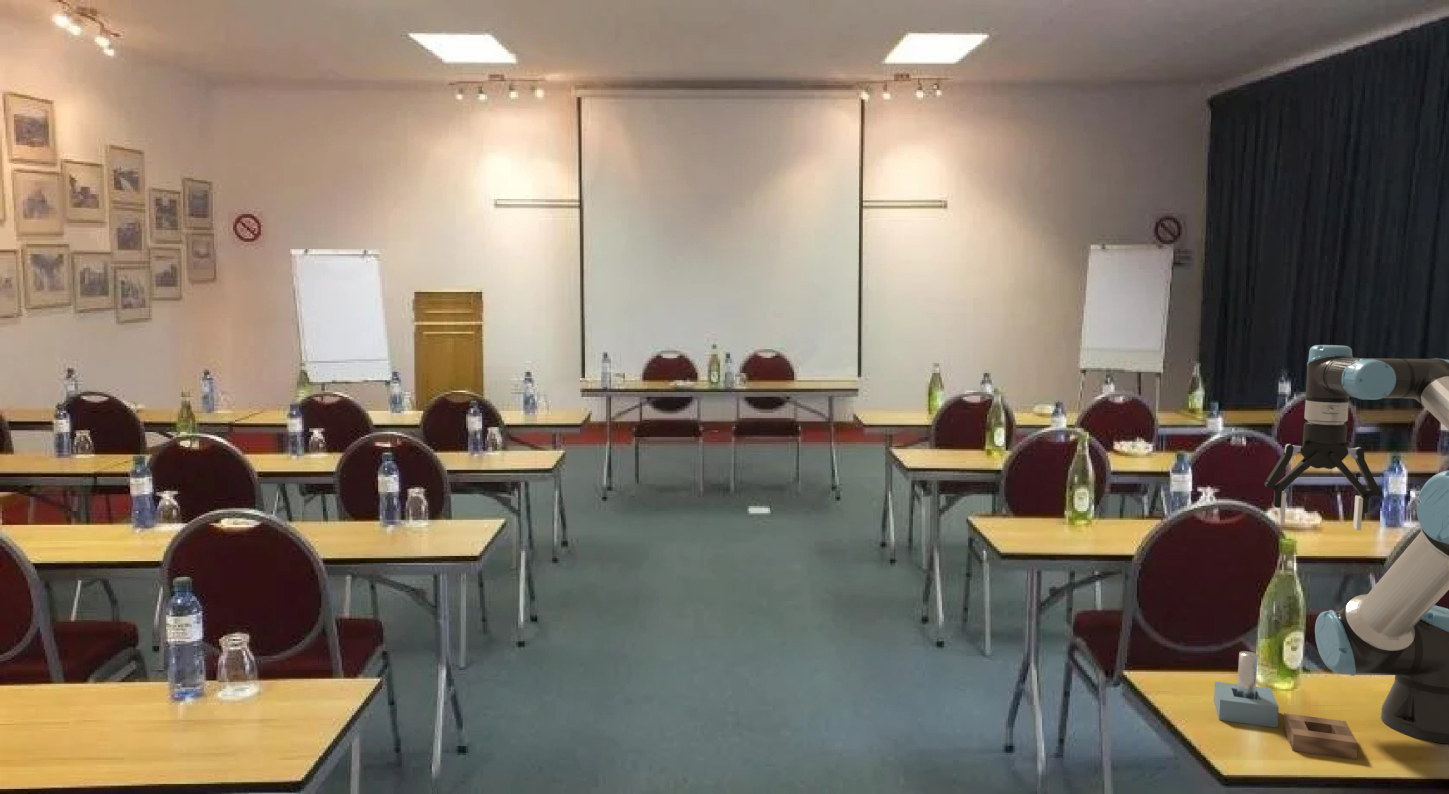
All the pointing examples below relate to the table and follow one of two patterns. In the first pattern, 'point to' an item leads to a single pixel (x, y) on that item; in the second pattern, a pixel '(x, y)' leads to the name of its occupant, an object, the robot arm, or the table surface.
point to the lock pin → (1247, 675)
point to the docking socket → (1246, 705)
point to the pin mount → (1320, 736)
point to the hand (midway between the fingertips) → (1318, 526)
